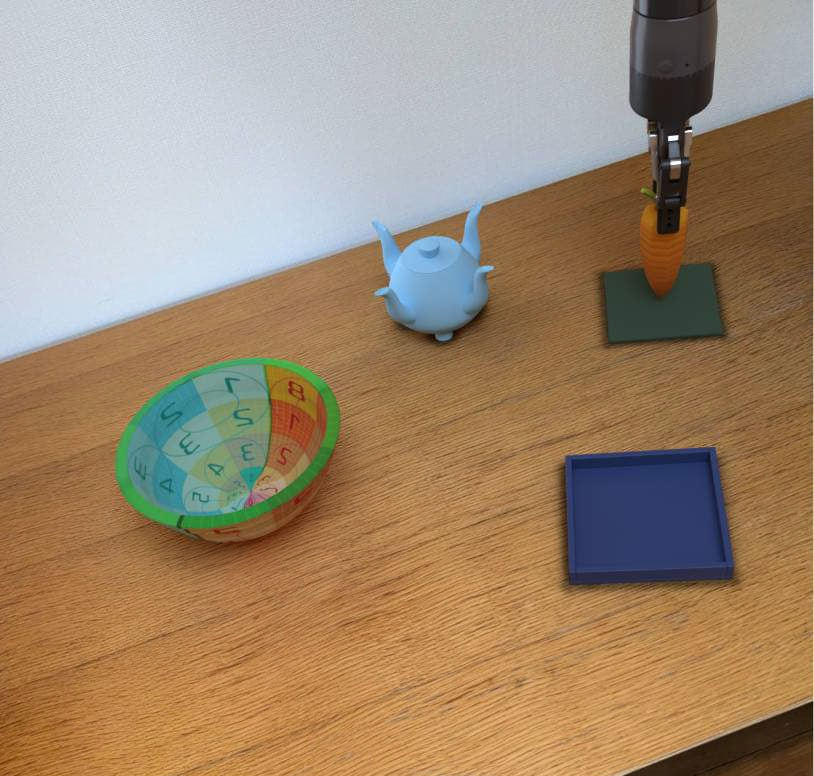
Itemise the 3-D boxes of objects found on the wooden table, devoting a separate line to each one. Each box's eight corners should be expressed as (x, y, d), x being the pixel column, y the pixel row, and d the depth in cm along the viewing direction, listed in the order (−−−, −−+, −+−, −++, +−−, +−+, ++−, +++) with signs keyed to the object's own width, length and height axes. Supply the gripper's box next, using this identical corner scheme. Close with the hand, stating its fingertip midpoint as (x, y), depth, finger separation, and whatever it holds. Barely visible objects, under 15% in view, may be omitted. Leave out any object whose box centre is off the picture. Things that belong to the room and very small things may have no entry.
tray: (713, 459, 96) (715, 446, 95) (732, 579, 88) (734, 566, 86) (565, 468, 99) (565, 455, 97) (569, 584, 90) (569, 572, 89)
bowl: (224, 406, 113) (195, 339, 105) (397, 449, 104) (379, 379, 96) (110, 555, 102) (68, 492, 94) (293, 617, 93) (263, 553, 85)
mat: (710, 265, 114) (710, 262, 113) (722, 335, 106) (723, 332, 106) (603, 275, 116) (603, 272, 115) (608, 344, 108) (608, 341, 108)
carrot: (668, 316, 108) (673, 196, 96) (629, 301, 110) (630, 182, 99) (693, 291, 110) (702, 169, 98) (655, 276, 112) (659, 157, 101)
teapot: (491, 273, 119) (483, 200, 112) (503, 345, 111) (494, 271, 103) (386, 290, 121) (370, 219, 113) (389, 363, 112) (373, 291, 105)
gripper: (725, 88, 84) (711, 255, 97) (706, 9, 92) (695, 172, 106) (634, 99, 85) (632, 262, 98) (624, 20, 94) (623, 180, 107)
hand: (665, 215), depth 102 cm, fingers closed on carrot, 5 cm apart
